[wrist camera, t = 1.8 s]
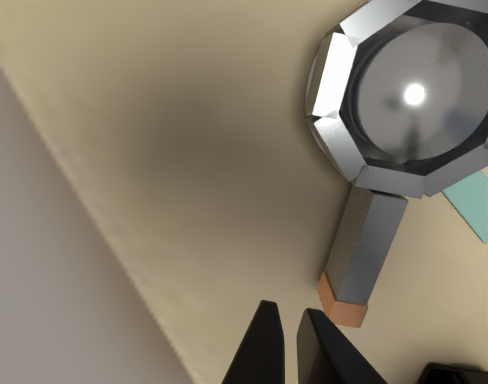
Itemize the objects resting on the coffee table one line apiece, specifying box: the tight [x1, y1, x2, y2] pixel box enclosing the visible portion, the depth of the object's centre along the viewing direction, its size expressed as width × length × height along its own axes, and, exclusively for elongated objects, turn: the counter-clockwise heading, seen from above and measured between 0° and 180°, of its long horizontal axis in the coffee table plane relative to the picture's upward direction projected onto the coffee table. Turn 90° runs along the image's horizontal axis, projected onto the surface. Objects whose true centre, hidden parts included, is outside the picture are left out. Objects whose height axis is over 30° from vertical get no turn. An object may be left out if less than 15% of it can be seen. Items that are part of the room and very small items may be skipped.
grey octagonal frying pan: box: [304, 0, 488, 328], centre depth 16 cm, size 18×10×3 cm, turn 169°
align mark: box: [442, 170, 488, 243], centre depth 19 cm, size 5×2×1 cm, turn 44°
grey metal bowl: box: [305, 0, 488, 164], centre depth 16 cm, size 10×10×4 cm
